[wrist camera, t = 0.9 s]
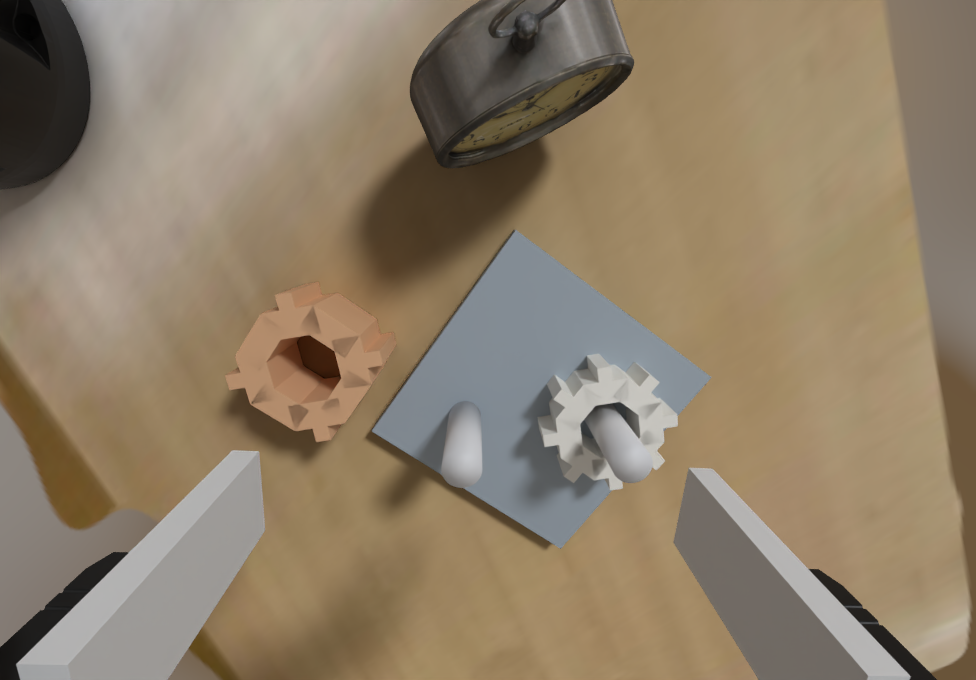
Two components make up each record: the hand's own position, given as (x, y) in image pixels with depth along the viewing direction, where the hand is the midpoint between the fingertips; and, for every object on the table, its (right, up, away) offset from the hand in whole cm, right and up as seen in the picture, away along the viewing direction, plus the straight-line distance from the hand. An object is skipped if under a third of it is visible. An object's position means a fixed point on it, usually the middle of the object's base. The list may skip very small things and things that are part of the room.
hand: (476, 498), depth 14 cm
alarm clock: (+2, +20, +16) cm, 26 cm away
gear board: (+4, 0, +21) cm, 21 cm away
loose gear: (-11, +4, +20) cm, 23 cm away
